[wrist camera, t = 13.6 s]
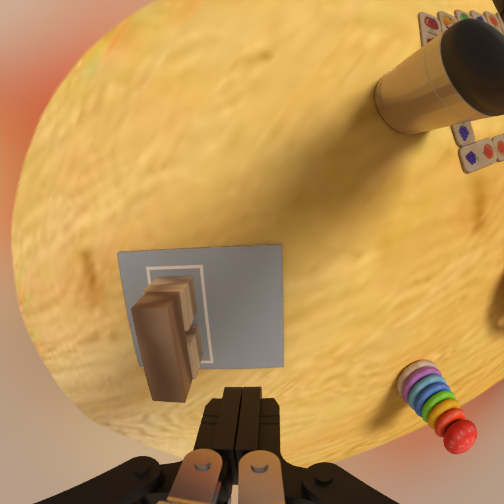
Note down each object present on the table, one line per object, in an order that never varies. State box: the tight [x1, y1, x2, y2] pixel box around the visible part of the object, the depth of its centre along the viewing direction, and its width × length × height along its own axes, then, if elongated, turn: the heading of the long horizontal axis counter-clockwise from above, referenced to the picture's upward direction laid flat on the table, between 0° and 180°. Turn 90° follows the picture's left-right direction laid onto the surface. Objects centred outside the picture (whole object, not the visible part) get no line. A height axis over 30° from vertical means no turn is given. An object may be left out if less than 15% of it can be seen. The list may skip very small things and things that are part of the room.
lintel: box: [131, 291, 193, 403], centre depth 33 cm, size 4×12×5 cm, turn 3°
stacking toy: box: [397, 360, 477, 454], centre depth 35 cm, size 8×8×19 cm
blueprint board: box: [117, 244, 284, 369], centre depth 42 cm, size 22×18×1 cm
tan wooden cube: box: [142, 276, 197, 331], centre depth 38 cm, size 5×5×6 cm
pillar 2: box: [185, 324, 203, 379], centre depth 39 cm, size 5×5×6 cm
